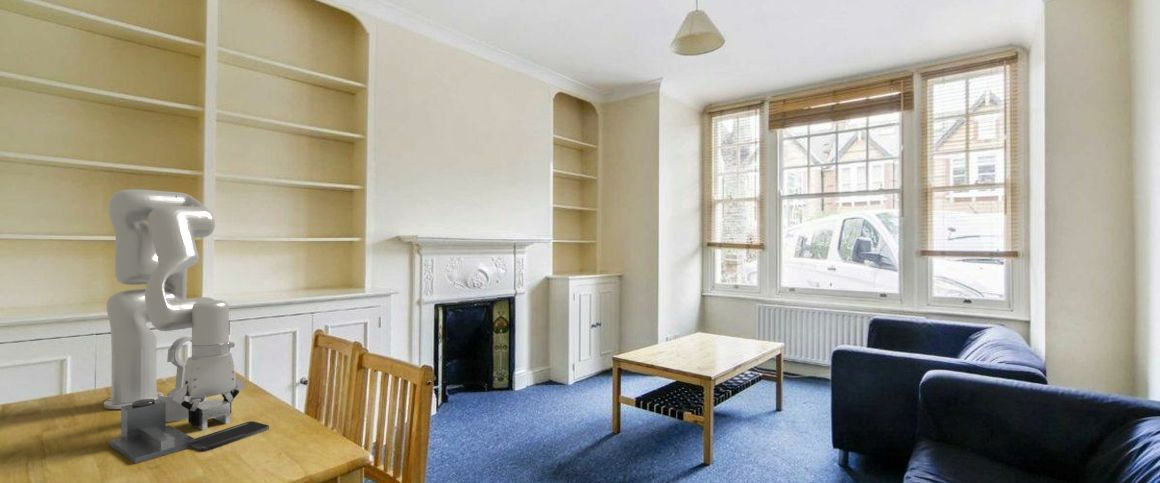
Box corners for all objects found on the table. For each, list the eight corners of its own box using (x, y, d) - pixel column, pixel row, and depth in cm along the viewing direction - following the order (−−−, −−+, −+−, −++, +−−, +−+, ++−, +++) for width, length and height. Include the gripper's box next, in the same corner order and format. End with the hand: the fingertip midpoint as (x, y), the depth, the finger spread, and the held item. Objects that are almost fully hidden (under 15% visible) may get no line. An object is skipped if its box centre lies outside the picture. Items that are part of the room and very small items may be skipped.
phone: (184, 442, 115) (251, 420, 129) (184, 447, 115) (251, 425, 129) (204, 448, 112) (271, 425, 125) (204, 453, 112) (271, 430, 125)
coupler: (109, 445, 114) (109, 406, 114) (169, 430, 124) (169, 393, 124) (135, 463, 106) (135, 421, 106) (197, 445, 115) (197, 406, 115)
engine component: (147, 419, 130) (179, 423, 128) (147, 340, 130) (179, 342, 128) (188, 405, 141) (218, 408, 139) (188, 332, 141) (218, 333, 139)
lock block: (202, 430, 124) (202, 409, 124) (189, 423, 128) (189, 404, 128) (230, 422, 129) (230, 403, 129) (217, 416, 133) (217, 397, 133)
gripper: (241, 342, 137) (241, 408, 138) (162, 354, 123) (162, 429, 123) (255, 346, 133) (254, 414, 134) (175, 359, 119) (174, 435, 119)
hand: (210, 420), depth 128 cm, fingers closed on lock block, 6 cm apart
